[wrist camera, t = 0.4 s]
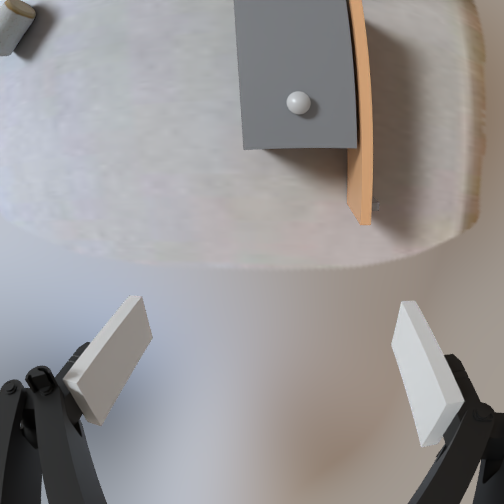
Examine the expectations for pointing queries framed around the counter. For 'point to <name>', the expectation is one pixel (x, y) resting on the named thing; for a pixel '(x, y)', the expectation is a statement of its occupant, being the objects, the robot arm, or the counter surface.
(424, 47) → the counter surface
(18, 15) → the ceramic mug
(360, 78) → the door
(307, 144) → the camera housing
